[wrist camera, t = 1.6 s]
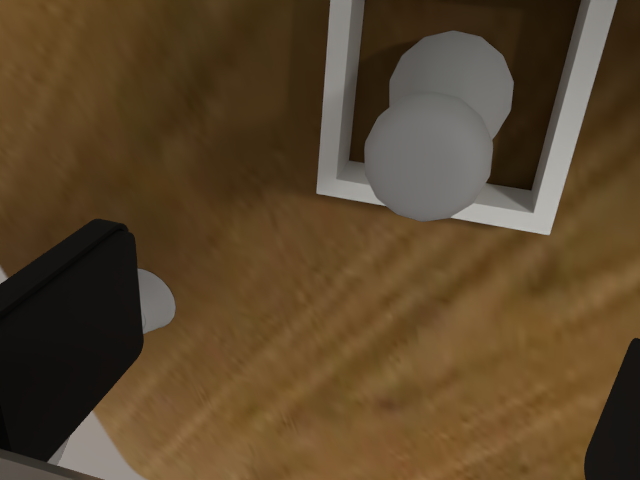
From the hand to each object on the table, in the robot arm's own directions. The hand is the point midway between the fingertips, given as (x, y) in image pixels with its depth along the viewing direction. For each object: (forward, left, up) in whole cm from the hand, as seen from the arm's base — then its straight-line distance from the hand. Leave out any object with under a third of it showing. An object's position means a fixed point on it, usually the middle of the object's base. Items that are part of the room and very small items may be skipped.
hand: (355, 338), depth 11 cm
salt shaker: (0, 0, -23) cm, 23 cm away
